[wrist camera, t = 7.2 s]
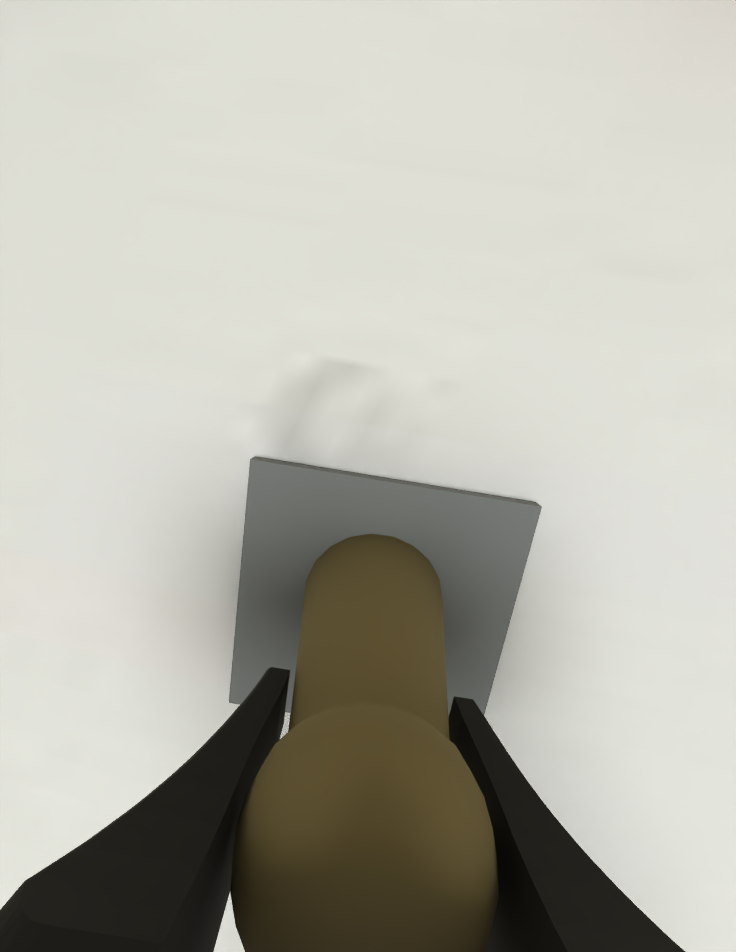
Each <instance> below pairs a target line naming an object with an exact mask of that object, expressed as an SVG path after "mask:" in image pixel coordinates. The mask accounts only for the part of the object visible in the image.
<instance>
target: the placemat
mask: <svg viewBox="0 0 736 952" xmlns="http://www.w3.org/2000/svg"><path fill="white" fill-rule="evenodd" d="M541 508H542V507H541V506H540V505H539V504H537V503H536V502H531V501H525V500H518V499H512V498H506V497H500V496H494V495H488V494H481V493H475V492H469V491H463V490H457V489H451V488H445V487H438V486H432V485H426V484H420V483H414V482H408V481H402V480H395V479H389V478H383V477H377V476H371V475H365V474H359V473H352V472H346V471H340V470H334V469H328V468H322V467H316V466H309V465H303V464H297V463H291V462H285V461H279V460H273V459H266V458H260V457H254V458H252V459H250V468H249V480H248V491H247V502H246V514H245V525H244V536H243V548H242V559H241V570H240V582H239V593H238V604H237V616H236V627H235V638H234V650H233V661H232V672H231V684H230V695H229V703H235V704H241V703H242V702H243V701H244V700H245V699H246V697H247V696H248V695H249V694H250V692H251V691H252V690H253V689H254V687H255V686H256V685H257V683H258V682H259V681H260V679H261V678H262V676H263V675H264V673H265V672H266V670H267V669H269V668H270V667H275V668H281V669H287V670H290V677H289V685H288V692H287V700H286V708H285V712H290V713H291V706H292V697H293V689H294V680H295V672H296V663H297V655H298V646H299V638H300V629H301V621H302V612H303V604H304V595H305V587H306V579H307V577H308V575H309V573H310V571H311V569H312V567H313V565H314V563H315V561H316V560H317V559H318V558H319V557H320V556H321V555H322V554H323V553H324V552H325V551H326V550H327V549H328V548H329V547H331V546H333V545H335V544H337V543H339V542H341V541H343V540H345V539H347V538H349V537H354V536H360V535H366V534H378V535H385V536H393V537H395V538H398V539H400V540H402V541H404V542H406V543H408V544H411V545H413V546H414V547H415V548H416V549H418V550H419V551H420V552H421V553H422V554H423V555H424V556H425V557H426V558H427V559H428V560H429V561H430V562H431V564H432V566H433V568H434V570H435V571H436V573H437V575H438V577H439V580H440V586H441V593H442V601H443V620H444V640H445V660H446V679H447V699H448V717H449V714H450V710H451V706H452V702H453V698H454V696H455V697H462V698H468V699H473V700H474V701H475V703H476V704H477V706H478V707H479V709H480V710H481V712H482V714H483V715H484V713H485V709H486V706H487V702H488V698H489V695H490V691H491V688H492V684H493V680H494V677H495V673H496V670H497V666H498V662H499V659H500V655H501V652H502V648H503V644H504V641H505V637H506V634H507V630H508V626H509V623H510V619H511V616H512V612H513V608H514V605H515V601H516V598H517V594H518V590H519V587H520V583H521V580H522V576H523V572H524V569H525V565H526V562H527V558H528V554H529V551H530V547H531V544H532V540H533V536H534V533H535V529H536V526H537V522H538V518H539V515H540V511H541Z"/></svg>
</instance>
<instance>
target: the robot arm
mask: <svg viewBox="0 0 736 952" xmlns="http://www.w3.org/2000/svg"><path fill="white" fill-rule="evenodd" d="M289 677H290V670H287V669H281V668H275V667H270V668H269V669H267V670H266V672H265V673H264V675H263V676H262V678H261V679H260V681H259V682H258V683H257V685H256V686H255V687H254V689H253V690H252V691H251V692H250V694H249V695H248V696H247V697H246V699H245V700H244V701H243V702H242V703H241V705H240V706H239V707H238V708H237V709H236V710H235V712H234V713H233V714H232V715H231V716H230V717H229V719H228V720H227V721H226V722H225V723H224V724H223V725H222V726H221V727H220V728H219V729H218V730H217V732H216V733H215V734H214V735H213V736H212V737H211V738H210V739H209V740H208V741H207V742H206V743H205V744H204V745H203V746H202V747H201V748H200V749H199V750H198V751H197V752H196V753H195V754H194V755H193V756H192V757H191V758H190V759H189V760H188V761H187V762H186V763H184V764H183V765H182V766H181V767H180V768H179V769H178V770H177V771H176V772H175V773H173V774H172V775H171V776H170V777H169V778H168V779H166V780H165V781H164V782H163V783H162V784H161V785H159V786H158V787H157V788H156V789H155V790H153V791H152V792H151V793H150V794H149V795H147V796H146V797H145V798H144V799H142V800H141V801H140V802H139V803H137V804H136V805H135V806H134V807H132V808H131V809H130V810H128V811H127V812H126V813H124V814H123V815H122V816H120V817H119V818H118V819H116V820H115V821H113V822H112V823H111V824H109V825H108V826H107V827H105V828H104V829H103V830H101V831H100V832H98V833H97V834H96V835H94V836H93V837H92V838H90V839H89V840H87V841H86V842H84V843H83V844H81V845H80V846H78V847H77V848H75V849H74V850H72V851H71V852H69V853H68V854H66V855H65V856H63V857H61V858H60V859H58V860H57V861H55V862H54V863H52V864H51V865H49V866H48V867H46V868H45V869H43V870H41V871H40V872H38V873H37V874H35V875H34V876H32V877H30V878H29V879H27V880H26V881H24V883H23V884H22V885H21V886H20V887H19V888H18V890H17V891H16V892H15V893H14V894H13V896H12V897H11V898H10V899H9V900H8V901H7V903H6V904H5V905H4V906H3V907H2V909H1V910H0V952H213V951H214V947H215V943H216V940H217V936H218V932H219V929H220V925H221V921H222V918H223V914H224V911H225V907H226V903H227V900H228V896H229V893H230V888H231V873H232V859H233V850H234V841H235V832H236V825H237V822H238V819H239V816H240V813H241V810H242V807H243V804H244V801H245V798H246V795H247V793H248V791H249V789H250V787H251V785H252V783H253V782H254V780H255V778H256V776H257V774H258V772H259V770H260V768H261V766H262V765H263V763H264V761H265V760H266V758H267V756H268V755H269V753H270V751H271V750H272V748H273V746H274V745H275V744H276V743H277V742H278V741H279V739H280V735H281V731H282V727H283V723H284V715H285V708H286V700H287V692H288V685H289ZM448 718H449V738H450V741H451V742H452V743H454V744H455V745H456V747H457V749H458V750H459V752H460V754H461V755H462V757H463V759H464V760H465V762H466V764H467V765H468V767H469V769H470V770H471V772H472V774H473V776H474V778H475V780H476V782H477V784H478V786H479V788H480V790H481V792H482V794H483V796H484V798H485V802H486V806H487V809H488V813H489V817H490V821H491V824H492V828H493V834H494V841H495V848H496V854H497V862H498V885H499V899H498V903H497V907H496V912H495V916H494V920H493V924H492V929H491V933H490V936H489V940H488V943H487V946H486V950H485V952H685V951H684V950H683V949H681V948H680V947H679V946H678V945H677V944H676V943H675V942H674V941H672V940H671V939H670V938H669V937H668V936H667V935H666V934H665V933H664V932H663V931H662V930H661V929H660V928H659V927H658V926H657V925H656V924H654V923H653V922H652V921H651V920H650V919H649V918H648V917H647V916H646V915H645V914H644V913H643V912H642V911H641V910H640V909H639V908H638V907H637V906H636V905H635V904H634V903H633V902H632V901H631V900H630V899H629V898H628V897H627V896H626V895H625V894H624V893H623V892H622V891H621V890H620V889H619V888H618V887H617V886H616V885H615V884H614V883H613V882H612V881H611V880H610V879H609V878H608V877H607V876H606V875H605V873H604V872H603V871H602V870H601V869H600V868H599V867H598V866H597V865H596V864H595V863H594V862H593V861H592V860H591V859H590V857H589V856H588V855H587V854H586V853H585V852H584V851H583V850H582V848H581V847H580V846H579V845H578V844H577V843H576V842H575V840H574V839H573V838H572V837H571V836H570V835H569V833H568V832H567V831H566V830H565V829H564V827H563V826H562V825H561V824H560V823H559V821H558V820H557V819H556V818H555V817H554V815H553V814H552V813H551V812H550V810H549V809H548V808H547V807H546V805H545V804H544V803H543V801H542V800H541V799H540V797H539V796H538V795H537V793H536V792H535V791H534V789H533V788H532V787H531V785H530V784H529V783H528V781H527V780H526V778H525V777H524V776H523V774H522V773H521V771H520V770H519V769H518V767H517V766H516V764H515V763H514V761H513V760H512V758H511V757H510V755H509V754H508V752H507V751H506V749H505V748H504V746H503V745H502V743H501V742H500V740H499V739H498V737H497V736H496V734H495V733H494V731H493V729H492V728H491V726H490V725H489V723H488V722H487V720H486V718H485V717H484V715H483V714H482V712H481V710H480V709H479V707H478V706H477V704H476V703H475V701H474V700H473V699H468V698H462V697H455V696H454V698H453V702H452V706H451V710H450V714H449V717H448Z"/></svg>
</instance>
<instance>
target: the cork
mask: <svg viewBox="0 0 736 952" xmlns="http://www.w3.org/2000/svg"><path fill="white" fill-rule="evenodd" d="M230 892H231V899H232V905H233V911H234V918H235V924H236V928H237V931H238V933H239V936H240V939H241V941H242V944H243V947H244V950H245V952H485V950H486V946H487V943H488V940H489V936H490V933H491V929H492V924H493V920H494V916H495V912H496V907H497V903H498V899H499V885H498V862H497V854H496V848H495V841H494V834H493V828H492V824H491V821H490V817H489V813H488V809H487V806H486V802H485V798H484V796H483V794H482V792H481V790H480V788H479V786H478V784H477V782H476V780H475V778H474V776H473V774H472V772H471V770H470V769H469V767H468V765H467V764H466V762H465V760H464V759H463V757H462V755H461V754H460V752H459V750H458V749H457V747H456V745H455V744H454V743H452V742H451V741H450V738H449V718H448V699H447V679H446V660H445V640H444V620H443V601H442V593H441V586H440V580H439V577H438V575H437V573H436V571H435V570H434V568H433V566H432V564H431V562H430V561H429V560H428V559H427V558H426V557H425V556H424V555H423V554H422V553H421V552H420V551H419V550H418V549H416V548H415V547H414V546H413V545H411V544H408V543H406V542H404V541H402V540H400V539H398V538H395V537H393V536H385V535H378V534H366V535H360V536H354V537H349V538H347V539H345V540H343V541H341V542H339V543H337V544H335V545H333V546H331V547H329V548H328V549H327V550H326V551H325V552H324V553H323V554H322V555H321V556H320V557H319V558H318V559H317V560H316V561H315V563H314V565H313V567H312V569H311V571H310V573H309V575H308V577H307V579H306V587H305V595H304V604H303V612H302V621H301V629H300V638H299V646H298V655H297V663H296V672H295V680H294V689H293V697H292V706H291V714H290V723H289V731H288V733H287V734H286V735H285V736H283V737H282V738H281V739H280V740H279V741H278V742H277V743H276V744H275V745H274V746H273V748H272V750H271V751H270V753H269V755H268V756H267V758H266V760H265V761H264V763H263V765H262V766H261V768H260V770H259V772H258V774H257V776H256V778H255V780H254V782H253V783H252V785H251V787H250V789H249V791H248V793H247V795H246V798H245V801H244V804H243V807H242V810H241V813H240V816H239V819H238V822H237V825H236V832H235V841H234V850H233V859H232V873H231V888H230Z"/></svg>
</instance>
